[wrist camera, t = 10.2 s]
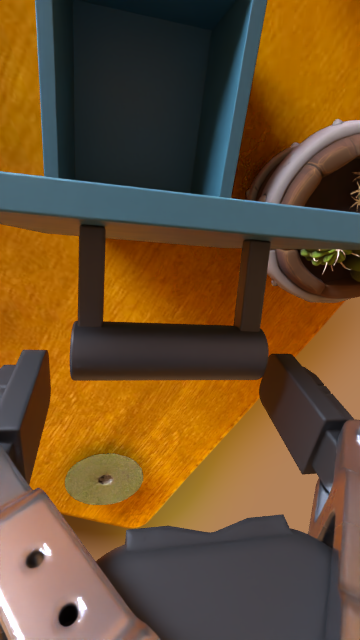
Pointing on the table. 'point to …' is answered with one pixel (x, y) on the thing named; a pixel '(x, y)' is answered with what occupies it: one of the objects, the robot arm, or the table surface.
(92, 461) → the mat
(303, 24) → the table surface
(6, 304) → the table surface
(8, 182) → the lid
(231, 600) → the robot arm
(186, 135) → the bin
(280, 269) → the flowerpot
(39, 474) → the table surface
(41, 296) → the table surface
